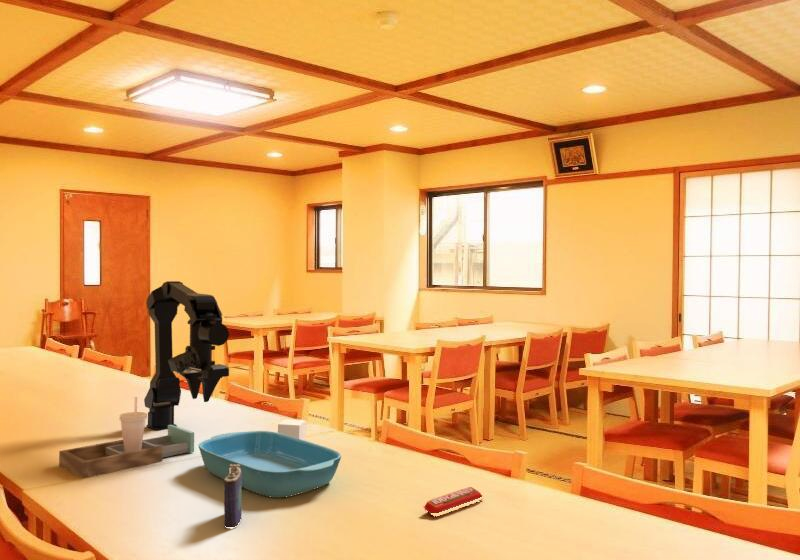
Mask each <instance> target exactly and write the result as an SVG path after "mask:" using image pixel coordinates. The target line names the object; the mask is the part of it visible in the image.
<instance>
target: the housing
mask: <svg viewBox="0 0 800 560" xmlns="http://www.w3.org/2000/svg"><path fill="white" fill-rule="evenodd" d="M120 444H124V443H123V438H122V439H118V440H112V441H107V442H102V443H96V444H91V445H85V446H81V447H75V448H69V449H64V450H59V451H58V452H59V458H58V459H59V461H58V462H59V463H58V464H59V467H61V468H63V469H64V468H65V469H64V470H66V469H67V470H66V471H68V472H70V473H72V474H74V475H75V474H76V475H75V476H77V475H78V476H77V477H79V478H81V477H82V478H81V479H86V477H87V478H90V477H95V475H96V476H99V474H100V475H104V474H105V475H106V474H109V473H113V472H119V471H123V470H127V469H128V470H129V469H131V468H135V467H140V466H146V465H150V464H154V463H160V462H162V461H163V458H162V446H157V447H152V448H147V449H142V450H137V451H132V452H127V453H122V454H117V455H112V456H107V457H105V447H109V446H114V445H120Z"/></svg>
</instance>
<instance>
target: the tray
mask: <svg viewBox="0 0 800 560" xmlns="http://www.w3.org/2000/svg"><path fill="white" fill-rule="evenodd" d="M157 446H162V459H163V458H166V457H167V458H168V457H172V456H176V455H177V456H178V455H181V454H186V453H194V452H195V432H194V431H190V430H188V429H185V428H183V427H179V426H178V425H177V426H174V425H168V428H167V435H162V436H158V437H151V438H148V439H143V441H142V448H141V450H142V449H147V448H152V447H157ZM122 453H125V451H124V444H120V445H114V446H109V447H105V457H107V456H112V455H117V454H122Z"/></svg>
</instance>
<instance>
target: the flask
mask: <svg viewBox="0 0 800 560" xmlns="http://www.w3.org/2000/svg"><path fill="white" fill-rule="evenodd" d="M229 466H230V467H231V468H229V470H228V476H227V477H226V478H225V479H223V484H224V485H223V486H224V487H223V488H224V490H223V492H224V493H223V494H224V499H223V501H224V503H223V509H224V521H223V523H224V525H225V526H226V527H235V526H237V525H238V523H239V522H240V519H241V520H242V487H241V484H242V480H241V478H242V472H241V469H240V468H239V467H238V466H240V465H238V464H237V465H235V464H234V465H232V464H231V465H229ZM240 523H241V522H240Z"/></svg>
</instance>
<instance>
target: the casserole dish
mask: <svg viewBox="0 0 800 560" xmlns="http://www.w3.org/2000/svg"><path fill="white" fill-rule="evenodd" d="M198 448H199V452H200V456H201V458H202V462H203V464H204V466H205V468H206V469H207V471H208V472H210V473H211V474H213V475H214V476H216V477H218V478H220V479H222V480H224V479H225V478H226V477H227V476H228V470H229V468H231V467H230V466H229V465H231V464H232V465H234V464H235V465H237V464H238V465H240V466H238V467H239V468H240V469H241V472H242V478H241V480H242V484H241V488H243V487H244V488H243V489H245V488H246V489H245V490H247V489H249V490H248V491H250V490H251V491H250V492H253V491H254V492H253V493H255V492H257V493H256V494H258V493H259V495H261V494H262V495H261V496H264V495H266V496H265V497H267V496H271V497H270V498H272V497H285V498H287V497H286V496H290V497H292V496H291V495H294V496H296V495H295V494H298V493H301V492H304V493H306V492H305V491H307V492H309V491H308V490H310V491H312V490H311V489H313V490H315V489H314V488H317V487H319V488H321V487H320V486H322V487H324V486H326V485H327V484H329V483H330V482H331V481H332V480H333V478H334V476H335V474H336V472H337V469H338V467H339V464H340V462H341V459H342V454H341V453H340V452H339V451H337V450H335V449H333V448H330V447H327V446H324V445H320V444H318V443H314V442H311V441H308V440H306V441H305V440H301V439H298V438H295V437H291V436H288V435H284V434H281V433H278V432H276V431H269V430H250V431H237V432H236V431H235V432H227V433H221V434H217V435H214V436H211V437H210V438H208V439H205V440H203V441H201V442H199V444H198ZM325 484H326V485H325ZM323 485H324V486H323ZM317 489H318V488H317ZM301 494H302V493H301ZM298 495H299V494H298Z"/></svg>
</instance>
